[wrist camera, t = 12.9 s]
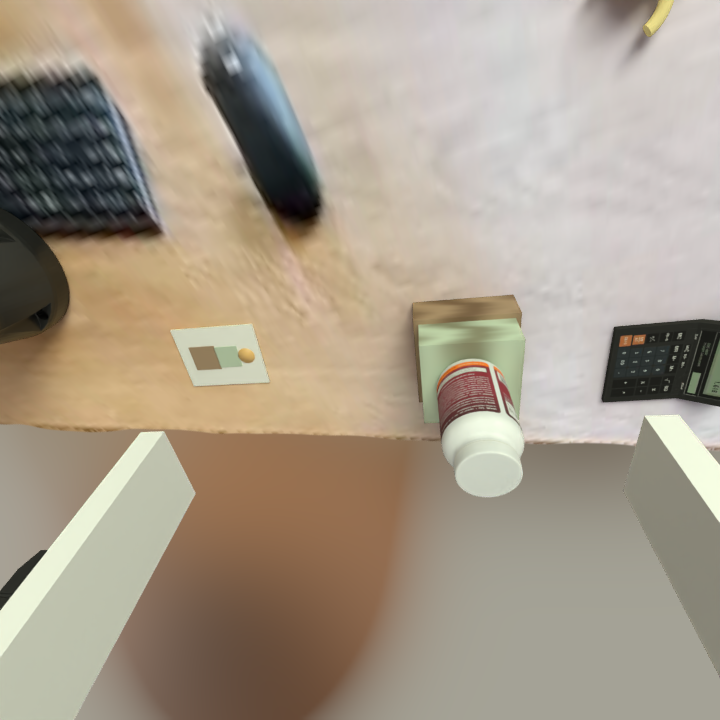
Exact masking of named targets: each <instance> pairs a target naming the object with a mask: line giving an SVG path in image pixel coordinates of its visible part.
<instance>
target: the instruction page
mask: <svg viewBox="0 0 720 720" xmlns="http://www.w3.org/2000/svg"><path fill="white" fill-rule="evenodd" d="M170 331H171V333H172V336H173V338H174V340H175V343H176V345H177V347H178V350H179V352H180V354H181V357H182V359H183V361H184V364H185V366H186V368H187V371H188V373H189V376H190V378H191V380H192V383H193V385H194V386H208V385H228V384H247V383H267V382H270V380H269V376H268V373H267V370H266V367H265V363H264V360H263V357H262V353H261V350H260V347H259V344H258V340H257V337H256V334H255V331H254V327H253V324H240V325H227V326H214V327H201V328H187V329H174V330H170Z"/></svg>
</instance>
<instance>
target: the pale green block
mask: <svg viewBox="0 0 720 720" xmlns="http://www.w3.org/2000/svg"><path fill="white" fill-rule="evenodd" d="M521 317H522V312H521V310H520V308H519V306H518V304H517V302H516V299H515V297H514V295H505V296H492V297H479V298H467V299H454V300H441V301H429V302H416V303H413V329H414V342H415V354H416V367H417V380H418V393H419V402H423V410H424V423H440V422H439V412H438V400H437V382H438V379H439V377H440V375H441V374H442V372H443V371H444V370H445V369H446V368H447V367H448V366H450V365H451V364H453V363H455V362H457V361H460V360H464V359H481V360H485V361H488V362H490V363H492V364H494V365H495V366H496V367H498V368H499V369H500V371H501V372H502V374H503V376H504V378H505V380H506V383H507V386H508V390H509V393H510V396H511V399H512V402H513V405H514V408H515V411H516V414H517V417H518V420H519V410H520V398H521V386H522V374H523V362H524V350H525V337H524V335H523V333H522V331H521Z"/></svg>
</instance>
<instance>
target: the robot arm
mask: <svg viewBox="0 0 720 720" xmlns="http://www.w3.org/2000/svg"><path fill="white" fill-rule="evenodd" d="M68 302H69V291H68V285H67V281H66V278H65V275H64V272H63V270H62V268H61V266H60V264H59V262H58V260H57V258H56V257H55V255H54V254H53V252H52V251H51V250H50V248H49V247H48V246H47V244H46V243H45V242H44V241H43V240H42V239H41V238H40V237H39V236H38V235H37V234H36V233H35V232H34V231H33V230H32V229H31V228H30V227H29V226H27V225H26V224H25V223H24V222H22V221H21V220H20V219H18V218H17V217H15V216H14V215H12V214H10V213H9V212H7V211H5V210H3V209H1V208H0V344H3V343H7V342H12V341H16V340H20V339H24V338H29V337H32V336H35V335H38V334H40V333H42V332H44V331H45V330H47V329H48V328H50V327H51V326H53V325H54V324H56V323H57V322H58V321H60V320H61V318H62V317H63V316H64V314H65V312H66V310H67V307H68ZM623 492H624V494H625V496H626V498H627V499H628V501H629V503H630V505H631V507H632V509H633V511H634V513H635V515H636V517H637V519H638V521H639V523H640V524H641V526H642V528H643V530H644V532H645V534H646V536H647V538H648V540H649V542H650V544H651V546H652V548H653V550H654V551H655V553H656V555H657V557H658V559H659V561H660V563H661V565H662V567H663V569H664V571H665V572H666V575H667V576H668V578H669V580H670V582H671V584H672V586H673V588H674V590H675V592H676V594H677V596H678V598H679V600H680V602H681V603H682V605H683V607H684V609H685V611H686V613H687V615H688V617H689V619H690V621H691V623H692V625H693V627H694V629H695V630H696V632H697V634H698V636H699V638H700V640H701V642H702V644H703V646H704V648H705V650H706V651H707V654H708V656H709V658H710V659H711V661H712V663H713V665H714V667H715V669H716V671H717V673H718V675H719V677H720V465H719V464H718V463H717V462H716V460H715V459H714V458H713V456H712V455H711V454H710V453H709V452H708V450H707V449H706V448H705V447H704V445H703V444H702V443H701V442H700V440H699V439H698V438H697V437H696V435H695V434H694V433H693V432H692V431H691V429H690V428H689V427H688V426H687V424H686V423H685V422H684V421H683V419H682V418H681V417H680V416H679V415H658V416H644V420H643V423H642V427H641V430H640V434H639V437H638V441H637V444H636V448H635V451H634V455H633V458H632V461H631V465H630V469H629V472H628V476H627V479H626V482H625V486H624V489H623ZM194 495H195V491H194V489H193V488H192V485H191V483H190V482H189V480H188V478H187V476H186V474H185V472H184V470H183V468H182V466H181V464H180V462H179V460H178V458H177V456H176V454H175V452H174V450H173V448H172V446H171V444H170V442H169V440H168V438H167V436H166V434H165V433H164V432H141V433H140V434H139V435H138V437H137V438H136V439H135V440H134V442H133V443H132V444H131V446H130V447H129V448H128V449H127V451H126V452H125V453H124V454H123V456H122V457H121V458H120V460H119V461H118V462H117V463H116V465H115V466H114V467H113V468H112V470H111V471H110V472H109V473H108V475H107V476H106V477H105V479H104V480H103V481H102V482H101V484H100V485H99V486H98V487H97V489H96V490H95V491H94V493H93V494H92V495H91V496H90V497H89V499H88V500H87V501H86V503H85V504H84V505H83V506H82V508H81V509H80V510H79V511H78V513H77V514H76V515H75V517H74V518H73V519H72V520H71V522H70V523H69V524H68V525H67V527H66V528H65V529H64V530H63V532H62V533H61V535H60V536H59V537H58V538H57V539H56V541H55V542H54V543H53V544H52V546H51V547H50V548H49V549H48V550H41V551H39V552H38V553H37V554H36V555H35V556H33V557H32V558H31V559H30V560H29V561H27V562H26V563H25V564H24V565H23V566H22V567H20V568H19V569H18V570H17V571H16V573H15V574H14V575H13V576H12V577H11V579H10V580H9V581H8V582H7V583H6V585H5V586H4V587H3V588H2V589H1V591H0V720H74V719H75V717H76V715H77V714H78V711H79V710H80V708H81V706H82V704H83V702H84V700H85V699H86V697H87V695H88V693H89V691H90V689H91V687H92V685H93V684H94V682H95V680H96V678H97V676H98V674H99V672H100V671H101V669H102V667H103V665H104V663H105V661H106V659H107V657H108V656H109V654H110V652H111V650H112V648H113V646H114V644H115V643H116V641H117V639H118V637H119V635H120V633H121V631H122V629H123V628H124V626H125V624H126V622H127V620H128V618H129V617H130V614H131V613H132V611H133V609H134V607H135V605H136V603H137V601H138V600H139V598H140V596H141V594H142V592H143V590H144V589H145V587H146V585H147V583H148V581H149V579H150V577H151V576H152V573H153V572H154V570H155V568H156V566H157V564H158V562H159V561H160V559H161V557H162V555H163V553H164V551H165V549H166V548H167V546H168V544H169V542H170V540H171V538H172V536H173V534H174V533H175V531H176V529H177V527H178V525H179V523H180V521H181V520H182V518H183V516H184V514H185V512H186V510H187V508H188V507H189V505H190V503H191V501H192V499H193V497H194Z"/></svg>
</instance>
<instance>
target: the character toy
mask: <svg viewBox="0 0 720 720" xmlns="http://www.w3.org/2000/svg"><path fill="white" fill-rule="evenodd" d="M673 2H674V0H659V1H658V4H657V7H656V9H655V11H654V13H653V15H652V16H651V18H650V19H649V20H648V22H647V23H646V24H645V25H644V26H643V30H644V32H645V34H646V35H647V36H648V37H651V36H652V35H653V34H654V33H655V32H656V31H657V30H658V29H659V28H660V26H661V25H662V24H663V22H664V21H665V19H666V17H667V16H668V14H669V12H670V10H671V7H672V5H673Z"/></svg>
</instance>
